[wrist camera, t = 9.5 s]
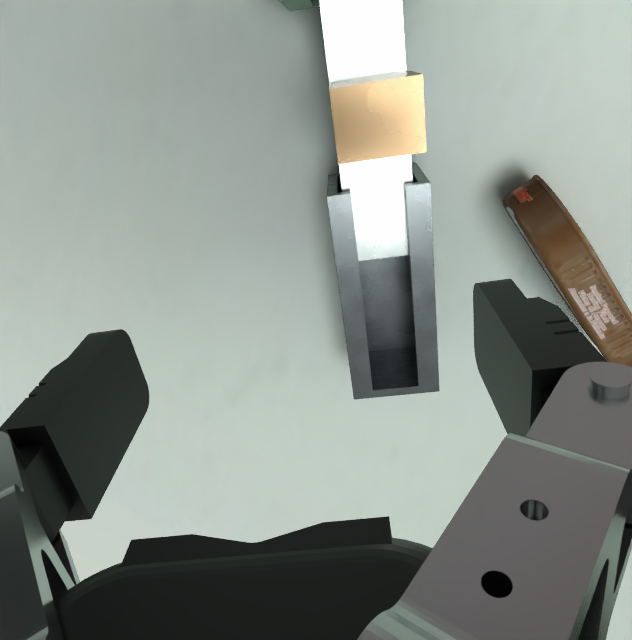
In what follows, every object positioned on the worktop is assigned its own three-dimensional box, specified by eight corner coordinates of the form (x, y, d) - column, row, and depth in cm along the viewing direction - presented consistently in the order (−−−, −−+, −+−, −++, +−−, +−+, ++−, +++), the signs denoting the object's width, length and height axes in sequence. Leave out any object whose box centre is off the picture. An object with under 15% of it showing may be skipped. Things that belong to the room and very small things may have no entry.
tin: (618, 318, 40) (683, 379, 32) (579, 339, 41) (634, 403, 33) (522, 160, 35) (573, 189, 27) (481, 189, 36) (519, 225, 28)
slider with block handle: (349, 240, 37) (353, 309, 27) (312, -68, 29) (300, -131, 19) (408, 233, 36) (435, 300, 27) (388, -82, 28) (415, -153, 18)
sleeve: (351, 355, 42) (354, 399, 37) (328, 175, 36) (326, 196, 30) (426, 348, 42) (439, 391, 36) (416, 163, 35) (430, 182, 30)
